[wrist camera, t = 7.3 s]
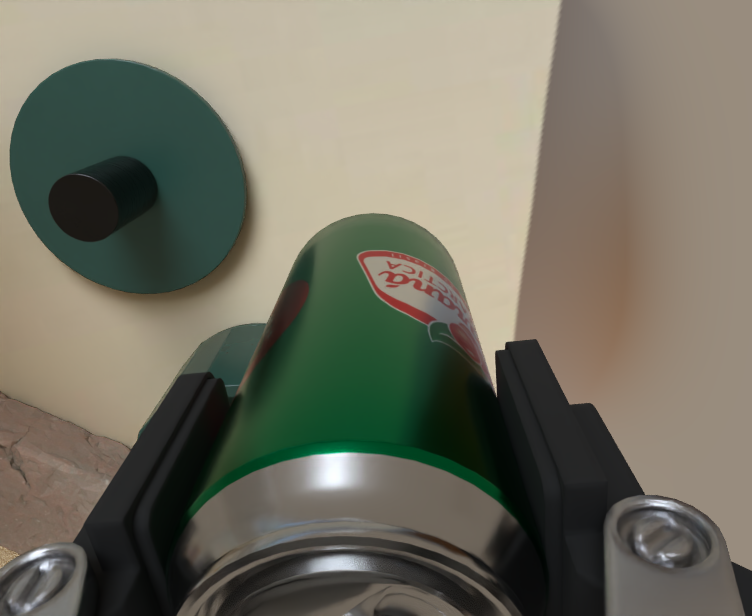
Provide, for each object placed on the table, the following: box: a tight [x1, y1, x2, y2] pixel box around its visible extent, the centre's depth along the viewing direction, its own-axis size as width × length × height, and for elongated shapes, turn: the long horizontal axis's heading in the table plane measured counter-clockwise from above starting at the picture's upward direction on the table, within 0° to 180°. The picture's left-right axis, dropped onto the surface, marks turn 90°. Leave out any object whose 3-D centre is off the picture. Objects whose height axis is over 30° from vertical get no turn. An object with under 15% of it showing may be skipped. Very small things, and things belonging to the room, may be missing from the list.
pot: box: [137, 323, 267, 440], centre depth 35 cm, size 11×11×7 cm
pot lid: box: [10, 59, 247, 294], centre depth 30 cm, size 12×12×6 cm
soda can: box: [165, 213, 549, 616], centre depth 12 cm, size 5×5×12 cm
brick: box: [0, 392, 131, 555], centre depth 38 cm, size 17×8×5 cm, turn 61°
